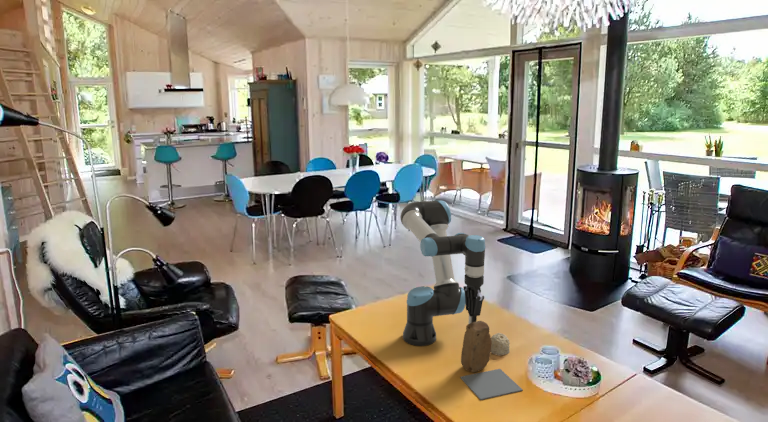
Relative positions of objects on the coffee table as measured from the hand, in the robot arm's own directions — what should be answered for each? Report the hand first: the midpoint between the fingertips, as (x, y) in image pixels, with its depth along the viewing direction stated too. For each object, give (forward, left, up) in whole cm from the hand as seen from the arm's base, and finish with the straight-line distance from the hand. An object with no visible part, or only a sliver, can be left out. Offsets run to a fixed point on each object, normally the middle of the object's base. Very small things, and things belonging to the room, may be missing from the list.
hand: (472, 329), depth 215 cm
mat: (+16, 0, -16) cm, 22 cm away
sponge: (-6, +17, -16) cm, 24 cm away
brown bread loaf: (+3, 0, -15) cm, 16 cm away
